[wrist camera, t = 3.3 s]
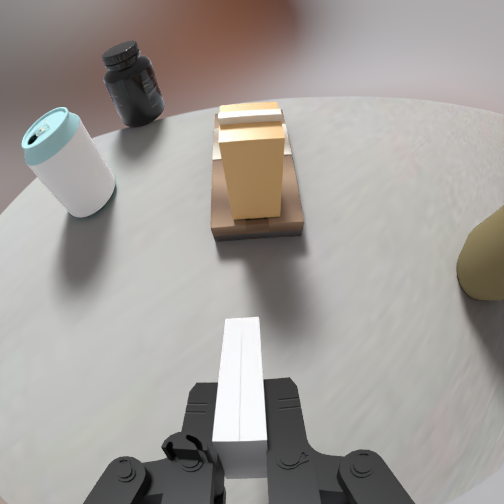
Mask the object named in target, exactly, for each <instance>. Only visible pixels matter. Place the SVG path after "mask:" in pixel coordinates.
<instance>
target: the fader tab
mask: <svg viewBox="0 0 504 504" xmlns="http://www.w3.org/2000/svg"><path fill="white" fill-rule="evenodd" d="M281 118H282V114H281V109H279V108H278V103H277V102H263V103H247V104H234V105H223V106H220V113H218V121H219V147H220V153H221V158H222V164H223V169H224V174H225V179H226V185H227V190H228V195H229V200H230V206H231V211H232V216H233V220H236V219H250V220H256V219H263V218H265V217H280V210H281V195H282V179H283V162H284V144H285V137H284V132H283V127H282V122H281Z"/></svg>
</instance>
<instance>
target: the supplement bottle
mask: <svg viewBox="0 0 504 504" xmlns="http://www.w3.org/2000/svg"><path fill="white" fill-rule="evenodd" d="M139 54H140V50H139V49H138V46H137V43H136V41H127V42H123V43H121V44H118V45H116V46H114V47H112V48H110V49H109V50H108V51H106V52H105V53H104V54H103V55H102V59H103V62H104V65H105V67H106V68H107V69H108V70H107V71H106V73H105V75H104V83H105V86H106V88H107V90H108V92H109V94H110V96H111V99H112V101H113V103H114V105H115V107H116V109H117V112H118V114H119V116H120V118H121V120H122V121H123V123H124V124H125V125H127V126H129V127H139V126H143V125H145V124H148V123H150V122H152V121H153V120H155V119H156V118H157V117H158V116H159V115H160V114H161V113H162V111H163V109H164V100H163V97H162V94H161V91H160V88H159V85H158V82H157V79H156V76H155V73H154V70H153V67H152V64H151V61H150V59H149V58H148V57H146V56H143V55H139Z"/></svg>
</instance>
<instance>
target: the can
mask: <svg viewBox="0 0 504 504" xmlns="http://www.w3.org/2000/svg"><path fill="white" fill-rule="evenodd" d="M22 148H23V149H24V155H25V162H26V164H27V165H28V166H29V167H30V168H31V169H32V171H33V172H34V173H35V174H36V176H37V177H38V178H39V179H40V180H41V182H42V183H43V184H44V185H45V186H46V187H47V188H48V190H49V191H50V192H51V193H52V194H53V195H54V196H55V197H56V199H57V200H58V201H59V202H60V203H61V204H62V205H63V206H64V207H65V208H66V209H67V211H68V212H69V213H70V214H71V215H73V216H75V217H86V216H89V215H91V214H93V213H95V212H97V211H98V210H99V209H101V208H102V207H103V206H104V205H105V204H106V202H107V201H108V200H109V198H110V197H111V195H112V193H113V191H114V187H115V178H114V176H113V174H112V172H111V171H110V169H109V167H108V166H107V164H106V163H105V161H104V159H103V158H102V156H101V154H100V153H99V151H98V149H97V148H96V146H95V144H94V143H93V141H92V139H91V138H90V136H89V134H88V132H87V130H86V129H85V127H84V125H83V123H82V122H81V120H80V118H79V117H78V116H77V115H76V114H73V113H70V112H68V110H67V108H65V107H59V108H56V109H53V110H51V111H49V112H48V113H46V114H45V115H43V116H42V117H41V118H39V119H38V120H37V121H36V122H35V123H34V124H33V125H32V126H31V127H30V129H29V130H28V131H27V132H26V134H25V136H24V138H23V140H22Z"/></svg>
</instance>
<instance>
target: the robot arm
mask: <svg viewBox="0 0 504 504" xmlns="http://www.w3.org/2000/svg"><path fill="white" fill-rule="evenodd" d="M161 448H162V449H163V451H164V453H165V454H166V456H167V458H165V459H162V460H158V461H152V462H145V463H141V462H140V461H139V460H137V459H136V458H133V457H128V456H125V457H119V458H117V459H115V460H113V461H112V462H111V463H110V464H109V465H108V467H107V468H106V470H105V471H104V473H103V474H102V476H101V477H100V479H99V480H98V482H97V483H96V485H95V486H94V488H93V489H92V491H91V492H90V494H89V495H88V497H87V498H86V500H85V501H84V503H83V504H226V491H225V487H224V475H225V477H226V479H241V478H266V477H268V496H269V504H415V503H414V502H413V500H412V499H411V498H410V496H409V495H408V493H407V492H406V491H405V489H404V488H403V487H402V485H401V484H400V483H399V481H398V480H397V478H396V477H395V476H394V474H393V473H392V471H391V470H390V469H389V467H388V466H387V465H386V463H385V462H384V460H383V459H382V458H381V457H380V456H379V455H378V454H377V453H376V452H373V451H370V450H357V451H353V452H351V453H349V454H348V455H346V456H345V457H342V456H331V455H325V454H321V453H319V452H317V451H315V450H314V449H313V448H312V447H311V446H310V445H309V443H308V440H307V437H306V431H305V426H304V420H303V415H302V410H301V404H300V399H299V394H298V389H297V386H296V384H295V383H294V382H293V381H292V380H291V378H290V377H288V378H278V379H265V380H263V365H262V351H261V338H260V324H259V317H249V318H233V319H226V321H225V329H224V337H223V346H222V354H221V363H220V372H219V381H218V383H196V384H195V386H194V387H193V388H192V389H191V391H190V392H189V397H188V402H187V407H186V413H185V416H184V421H183V426H182V431H181V432H178V433H175V434H173V435H170V436H169V437H168V438H167V439H166V440H165V441H164V443H163V445H162V447H161Z"/></svg>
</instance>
